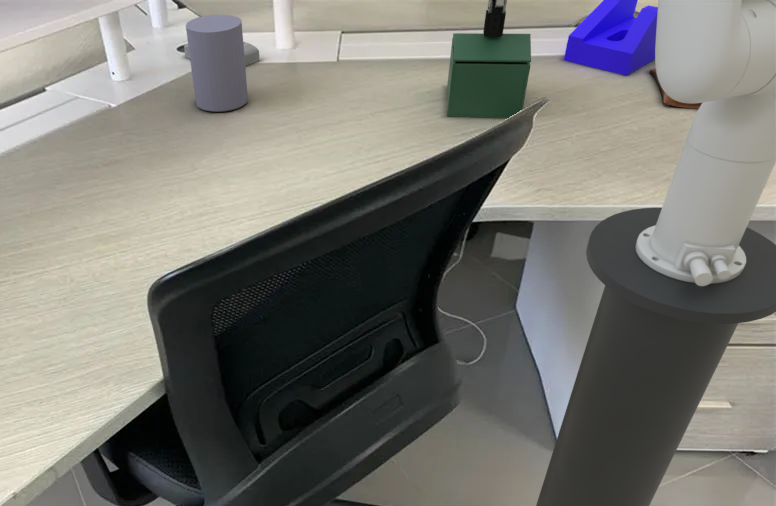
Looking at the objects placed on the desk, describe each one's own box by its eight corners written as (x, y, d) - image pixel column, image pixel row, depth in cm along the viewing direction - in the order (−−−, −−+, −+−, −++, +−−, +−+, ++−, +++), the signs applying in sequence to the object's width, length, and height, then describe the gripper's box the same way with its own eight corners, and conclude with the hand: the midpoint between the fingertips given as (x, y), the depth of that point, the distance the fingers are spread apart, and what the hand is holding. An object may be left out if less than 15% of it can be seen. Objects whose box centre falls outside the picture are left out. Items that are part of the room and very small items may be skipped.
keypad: (216, 29, 162) (258, 43, 153) (218, 46, 164) (259, 60, 155) (183, 40, 157) (224, 55, 149) (185, 57, 160) (226, 72, 151)
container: (254, 93, 141) (248, 15, 132) (239, 114, 134) (231, 33, 124) (206, 90, 144) (196, 13, 134) (188, 111, 136) (177, 31, 127)
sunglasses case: (646, 68, 139) (674, 38, 135) (673, 87, 140) (702, 58, 136) (663, 105, 126) (695, 73, 122) (693, 125, 127) (725, 95, 123)
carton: (520, 118, 126) (531, 60, 119) (446, 116, 128) (453, 59, 122) (515, 88, 136) (524, 33, 130) (447, 87, 139) (452, 33, 132)
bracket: (614, 34, 156) (627, -17, 150) (675, 47, 148) (692, -6, 142) (563, 60, 146) (574, 6, 139) (626, 75, 138) (641, 19, 131)
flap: (530, 62, 120) (531, 60, 119) (453, 61, 122) (453, 59, 122) (530, 35, 123) (530, 33, 123) (454, 35, 125) (454, 33, 125)
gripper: (483, -93, 117) (469, 21, 129) (486, -74, 106) (471, 50, 118) (530, -95, 116) (512, 22, 128) (538, -75, 105) (517, 50, 117)
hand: (492, 35), depth 123 cm, fingers closed
